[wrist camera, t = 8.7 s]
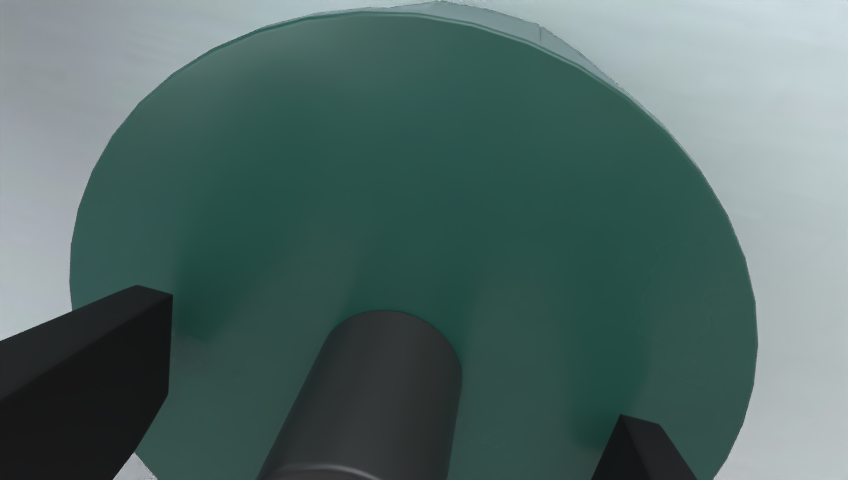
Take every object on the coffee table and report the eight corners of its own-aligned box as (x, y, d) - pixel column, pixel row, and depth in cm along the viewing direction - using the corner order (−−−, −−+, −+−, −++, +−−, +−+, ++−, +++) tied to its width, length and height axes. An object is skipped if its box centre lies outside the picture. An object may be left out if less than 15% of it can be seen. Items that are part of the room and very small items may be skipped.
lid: (336, 610, 16) (266, 853, 12) (-16, 222, 13) (-284, 368, 8) (844, 450, 12) (1007, 730, 8) (524, -176, 9) (514, -263, 5)
